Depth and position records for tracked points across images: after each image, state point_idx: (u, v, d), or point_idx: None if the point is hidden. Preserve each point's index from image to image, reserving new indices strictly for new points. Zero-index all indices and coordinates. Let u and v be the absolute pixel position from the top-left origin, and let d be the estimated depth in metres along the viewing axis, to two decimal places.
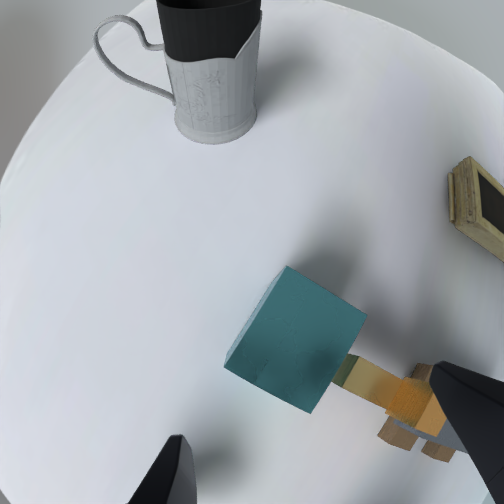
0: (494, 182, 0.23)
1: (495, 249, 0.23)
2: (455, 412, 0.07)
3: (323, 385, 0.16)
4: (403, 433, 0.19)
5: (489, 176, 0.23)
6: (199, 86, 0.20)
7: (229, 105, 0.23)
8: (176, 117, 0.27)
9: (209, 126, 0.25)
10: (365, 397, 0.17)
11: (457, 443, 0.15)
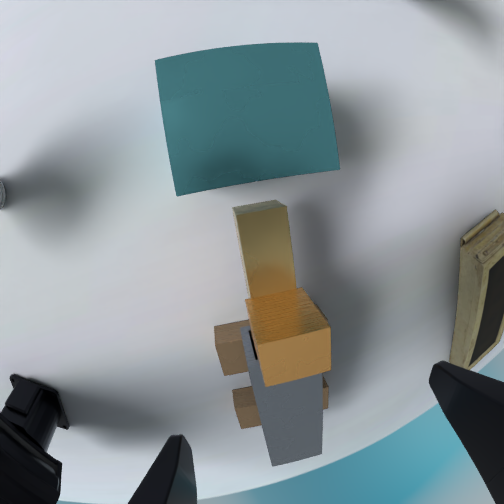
0: None
1: (463, 311, 0.22)
2: (455, 412, 0.07)
3: (222, 179, 0.11)
4: (236, 350, 0.19)
5: None
6: None
7: None
8: None
9: None
10: (245, 256, 0.14)
11: (269, 421, 0.17)
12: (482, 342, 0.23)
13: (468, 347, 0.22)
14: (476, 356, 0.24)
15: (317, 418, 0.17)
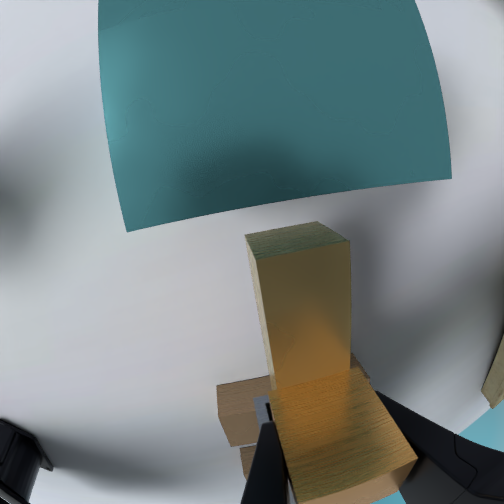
0: None
1: None
2: None
3: (229, 193, 0.05)
4: (247, 422, 0.13)
5: None
6: None
7: None
8: None
9: None
10: (271, 331, 0.07)
11: None
12: None
13: None
14: None
15: None
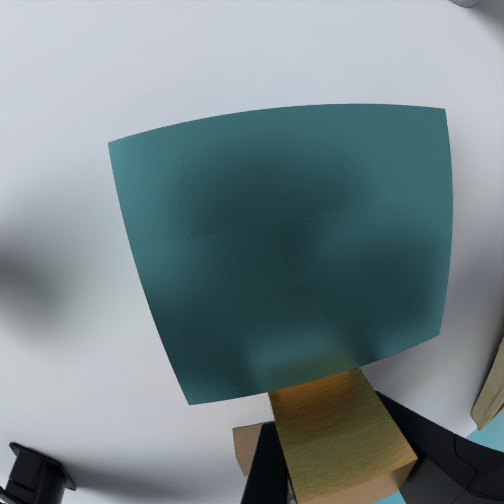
0: None
1: (493, 384, 0.17)
2: None
3: (265, 384, 0.06)
4: None
5: None
6: None
7: None
8: None
9: None
10: None
11: None
12: None
13: (492, 412, 0.17)
14: (497, 412, 0.19)
15: None
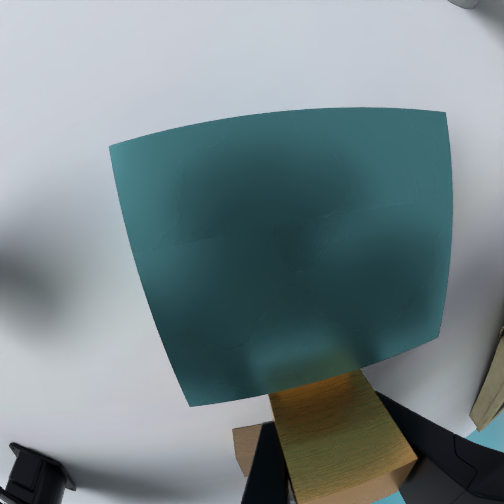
0: None
1: (490, 388, 0.17)
2: None
3: (265, 386, 0.06)
4: None
5: None
6: None
7: None
8: None
9: None
10: None
11: None
12: None
13: (490, 415, 0.17)
14: (496, 413, 0.19)
15: None
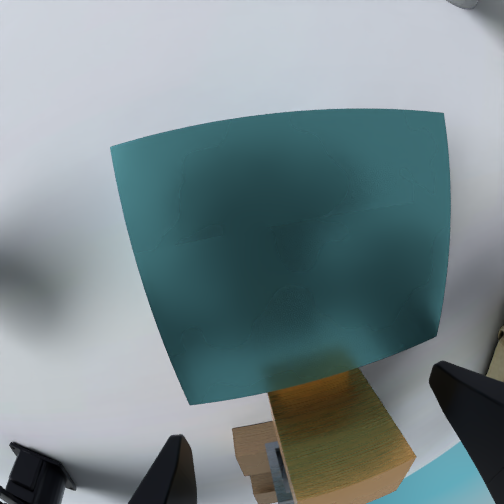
0: None
1: None
2: (455, 412, 0.07)
3: (265, 384, 0.06)
4: (259, 459, 0.14)
5: None
6: None
7: None
8: None
9: None
10: None
11: None
12: None
13: None
14: None
15: None
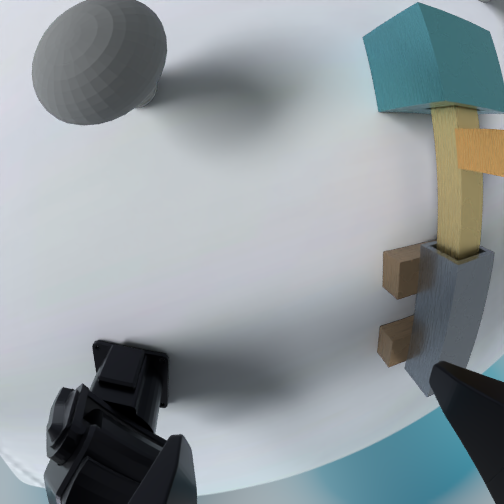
0: None
1: None
2: (455, 412, 0.07)
3: (465, 99, 0.11)
4: (413, 270, 0.19)
5: None
6: None
7: None
8: None
9: None
10: None
11: (450, 332, 0.16)
12: None
13: None
14: None
15: (475, 330, 0.17)
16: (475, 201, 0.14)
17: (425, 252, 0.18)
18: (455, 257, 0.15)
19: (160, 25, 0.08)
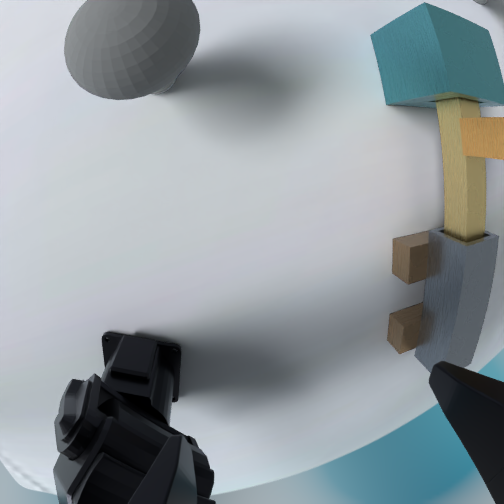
0: None
1: None
2: (455, 412, 0.07)
3: (469, 91, 0.11)
4: (422, 255, 0.19)
5: None
6: None
7: None
8: None
9: None
10: None
11: (461, 314, 0.16)
12: None
13: None
14: None
15: (483, 313, 0.17)
16: (479, 187, 0.15)
17: (433, 237, 0.18)
18: (463, 240, 0.16)
19: (195, 8, 0.08)
